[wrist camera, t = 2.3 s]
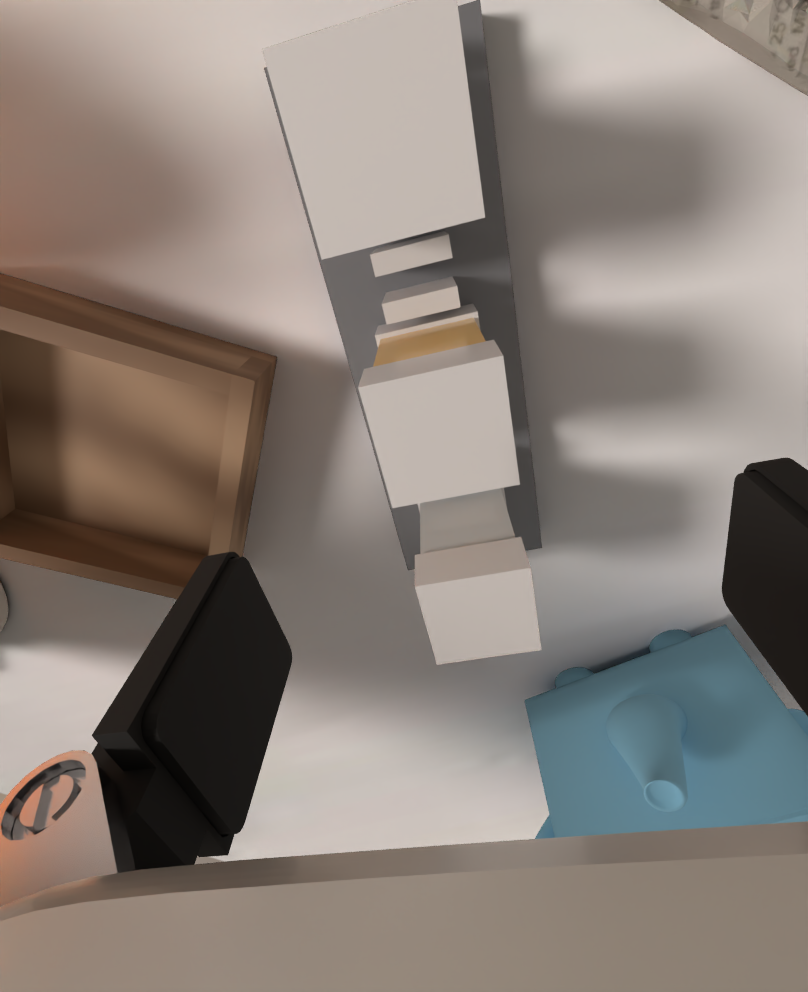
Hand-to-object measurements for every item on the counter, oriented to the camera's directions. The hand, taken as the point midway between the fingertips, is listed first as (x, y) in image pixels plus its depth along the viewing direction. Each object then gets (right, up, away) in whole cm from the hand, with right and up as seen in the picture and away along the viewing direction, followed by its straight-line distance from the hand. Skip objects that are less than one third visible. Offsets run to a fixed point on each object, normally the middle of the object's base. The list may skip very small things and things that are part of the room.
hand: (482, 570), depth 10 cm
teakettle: (+17, -13, +27) cm, 35 cm away
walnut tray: (-17, +5, +18) cm, 25 cm away
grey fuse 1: (-2, +15, +10) cm, 18 cm away
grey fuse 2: (+2, +1, +18) cm, 18 cm away
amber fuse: (0, +8, +14) cm, 16 cm away
